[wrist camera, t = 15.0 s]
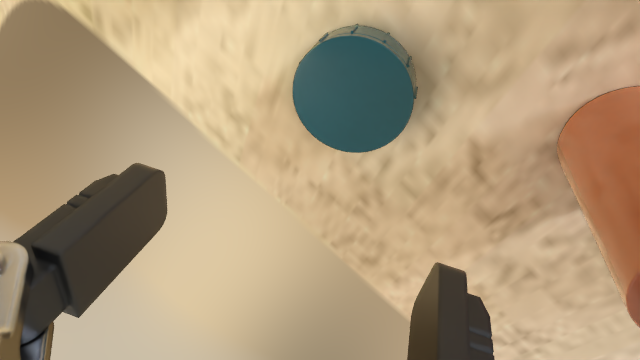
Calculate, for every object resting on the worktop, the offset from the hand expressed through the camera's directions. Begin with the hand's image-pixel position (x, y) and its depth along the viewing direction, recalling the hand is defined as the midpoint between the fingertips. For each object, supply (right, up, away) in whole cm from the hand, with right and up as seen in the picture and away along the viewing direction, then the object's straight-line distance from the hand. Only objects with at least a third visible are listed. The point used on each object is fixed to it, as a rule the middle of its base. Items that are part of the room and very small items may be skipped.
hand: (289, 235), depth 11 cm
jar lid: (+2, +5, +7) cm, 9 cm away
